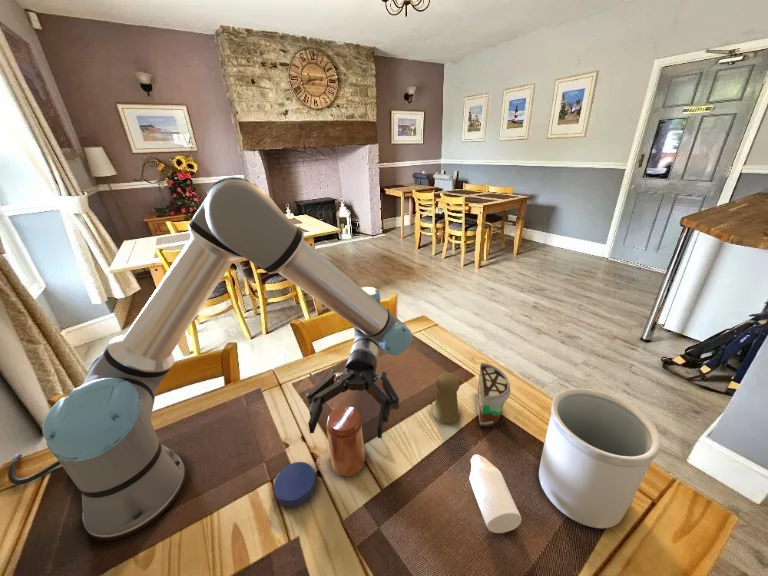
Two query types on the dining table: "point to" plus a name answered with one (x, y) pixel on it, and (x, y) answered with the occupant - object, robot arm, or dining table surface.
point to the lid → (295, 484)
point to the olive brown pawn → (446, 398)
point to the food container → (491, 394)
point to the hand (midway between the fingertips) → (344, 430)
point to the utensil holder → (595, 455)
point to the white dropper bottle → (493, 496)
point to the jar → (346, 440)
